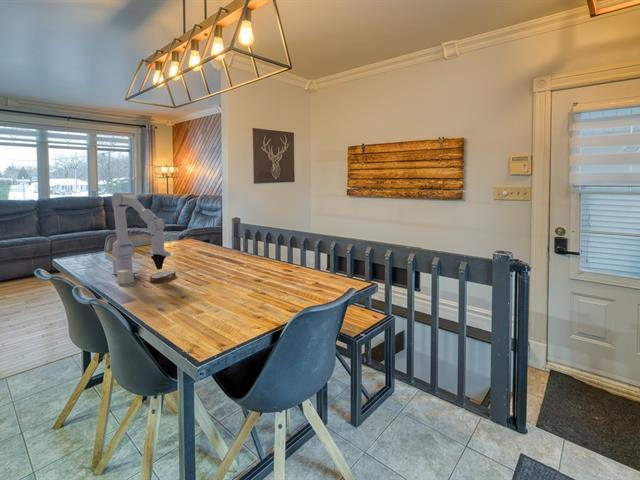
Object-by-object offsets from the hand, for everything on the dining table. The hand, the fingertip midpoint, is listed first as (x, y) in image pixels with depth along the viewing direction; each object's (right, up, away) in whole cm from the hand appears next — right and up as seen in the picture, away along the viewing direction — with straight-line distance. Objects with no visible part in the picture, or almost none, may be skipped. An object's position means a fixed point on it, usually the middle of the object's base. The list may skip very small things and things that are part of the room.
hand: (159, 269), depth 182 cm
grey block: (-15, -6, -4) cm, 16 cm away
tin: (-3, -3, +2) cm, 5 cm away
